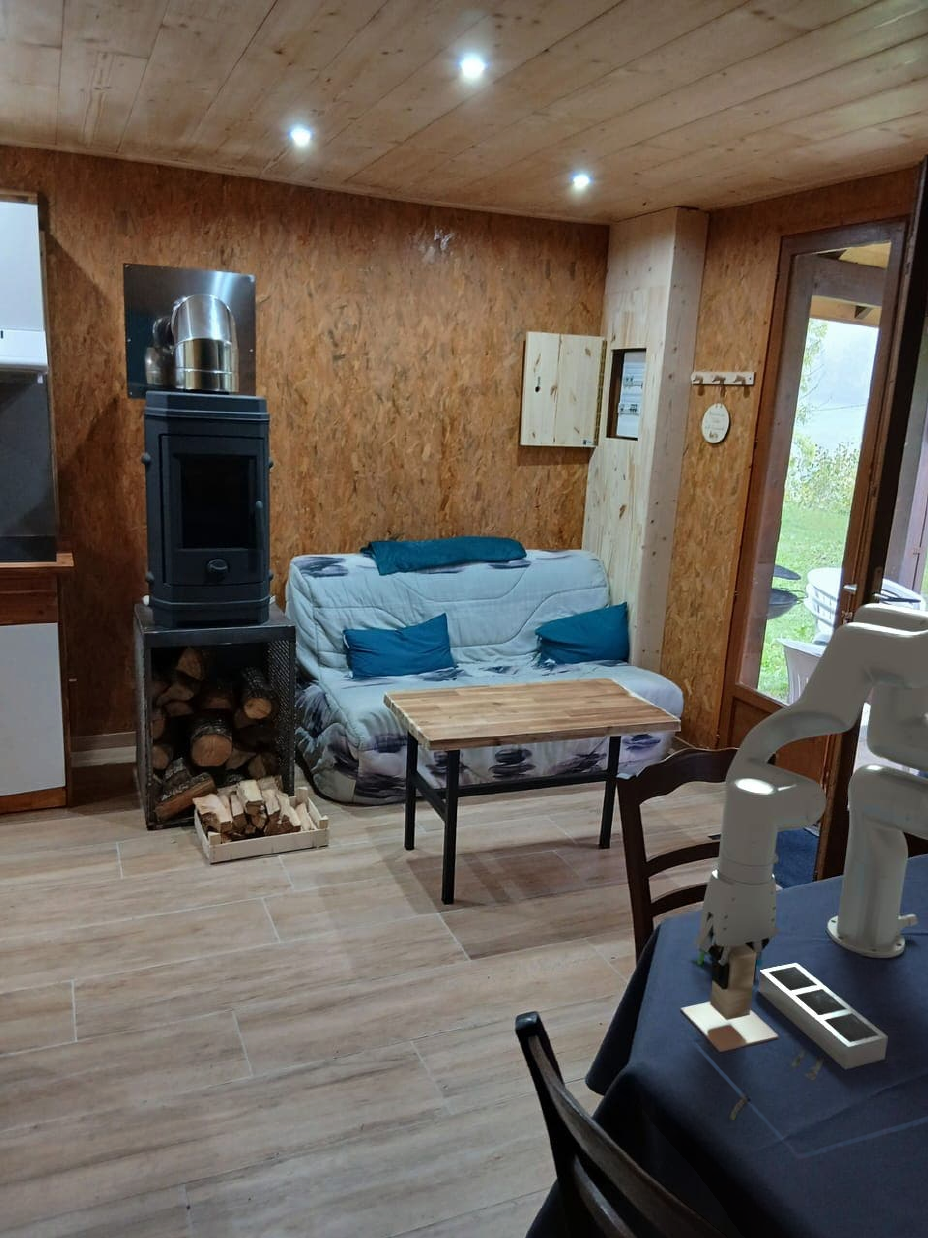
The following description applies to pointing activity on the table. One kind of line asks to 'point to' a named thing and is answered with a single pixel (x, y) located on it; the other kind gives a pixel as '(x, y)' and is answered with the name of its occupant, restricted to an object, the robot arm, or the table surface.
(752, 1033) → the tile
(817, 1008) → the shelf
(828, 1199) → the table surface
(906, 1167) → the table surface
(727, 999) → the peg
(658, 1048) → the table surface
